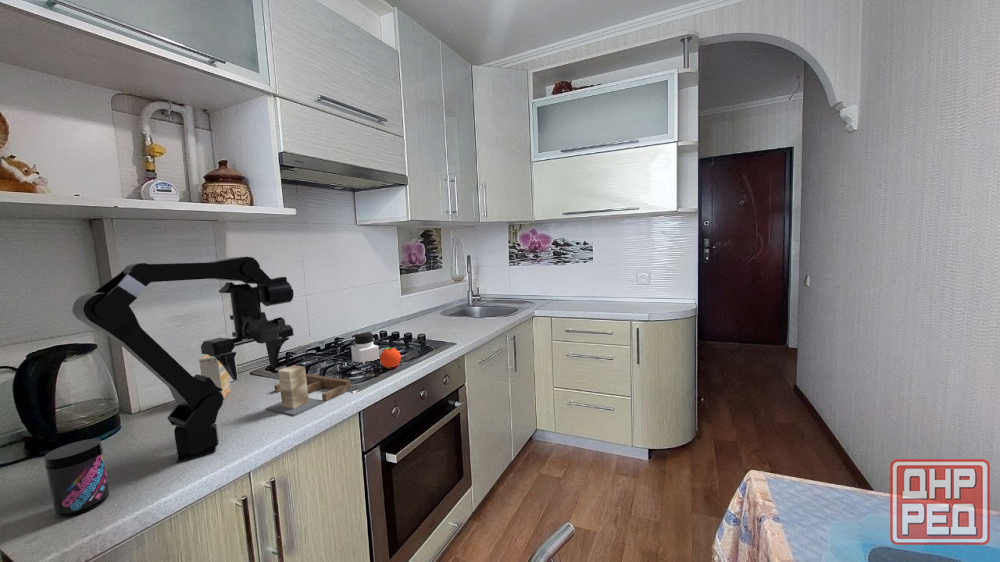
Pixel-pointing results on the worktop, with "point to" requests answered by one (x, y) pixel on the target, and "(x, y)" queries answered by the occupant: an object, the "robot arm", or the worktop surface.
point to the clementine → (390, 357)
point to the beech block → (293, 386)
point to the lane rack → (324, 385)
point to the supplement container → (77, 477)
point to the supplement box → (215, 373)
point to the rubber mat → (295, 411)
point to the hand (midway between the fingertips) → (255, 373)
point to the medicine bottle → (364, 348)
